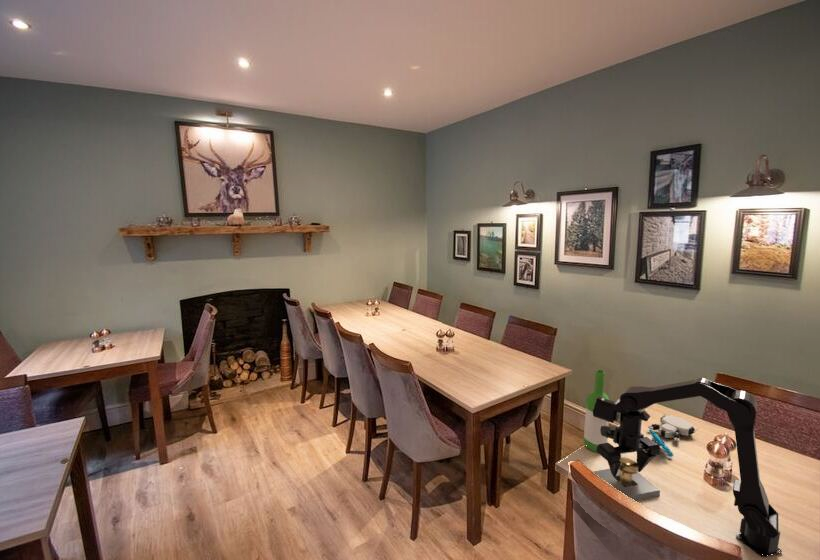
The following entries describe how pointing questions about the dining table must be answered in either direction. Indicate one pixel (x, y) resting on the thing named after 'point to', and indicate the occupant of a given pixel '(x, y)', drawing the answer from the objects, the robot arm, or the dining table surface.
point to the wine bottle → (591, 423)
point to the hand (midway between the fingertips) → (626, 473)
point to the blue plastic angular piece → (660, 442)
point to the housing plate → (638, 489)
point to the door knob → (627, 471)
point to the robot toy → (673, 427)
